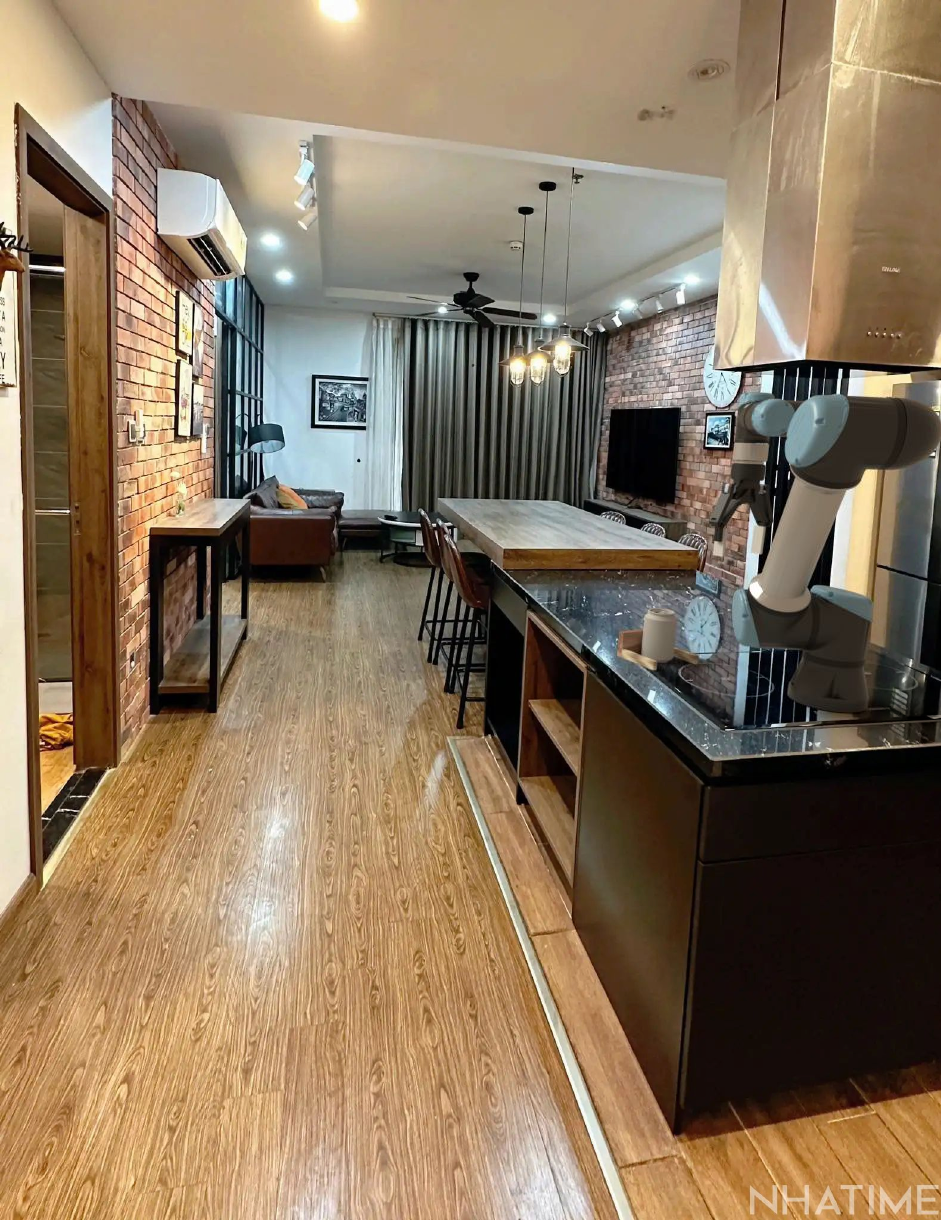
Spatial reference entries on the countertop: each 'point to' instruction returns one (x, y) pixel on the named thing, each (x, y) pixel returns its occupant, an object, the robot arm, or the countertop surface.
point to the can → (659, 635)
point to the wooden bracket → (633, 645)
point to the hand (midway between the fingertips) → (737, 554)
